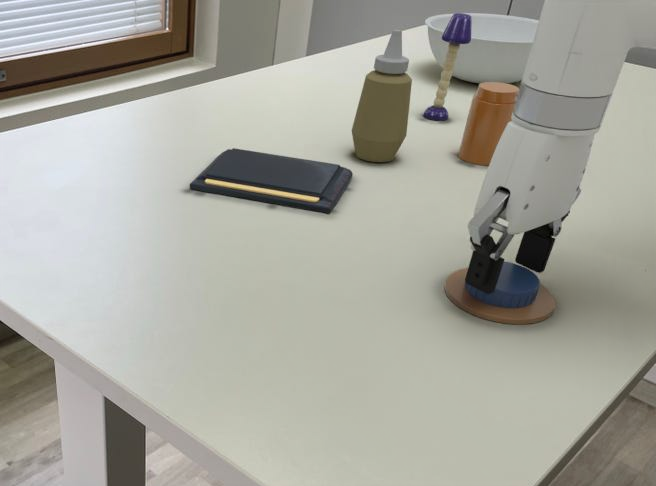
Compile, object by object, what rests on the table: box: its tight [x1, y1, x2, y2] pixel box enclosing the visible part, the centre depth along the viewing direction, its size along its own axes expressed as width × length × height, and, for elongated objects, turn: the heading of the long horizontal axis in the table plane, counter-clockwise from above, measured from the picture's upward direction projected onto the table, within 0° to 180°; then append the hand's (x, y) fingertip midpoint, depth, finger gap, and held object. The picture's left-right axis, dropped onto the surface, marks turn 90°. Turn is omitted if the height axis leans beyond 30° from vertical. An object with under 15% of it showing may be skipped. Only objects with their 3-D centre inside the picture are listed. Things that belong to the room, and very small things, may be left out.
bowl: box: [424, 12, 539, 84], centre depth 146 cm, size 27×27×10 cm
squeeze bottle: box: [351, 29, 413, 163], centre depth 105 cm, size 8×8×18 cm
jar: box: [457, 82, 520, 166], centre depth 108 cm, size 6×6×11 cm
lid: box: [465, 260, 541, 308], centre depth 76 cm, size 7×7×2 cm
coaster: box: [444, 267, 556, 325], centre depth 77 cm, size 11×11×1 cm
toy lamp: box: [423, 12, 472, 121], centre depth 122 cm, size 5×5×17 cm
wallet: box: [189, 147, 353, 214], centre depth 101 cm, size 20×2×15 cm
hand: (504, 276), depth 76 cm, fingers open, 7 cm apart
